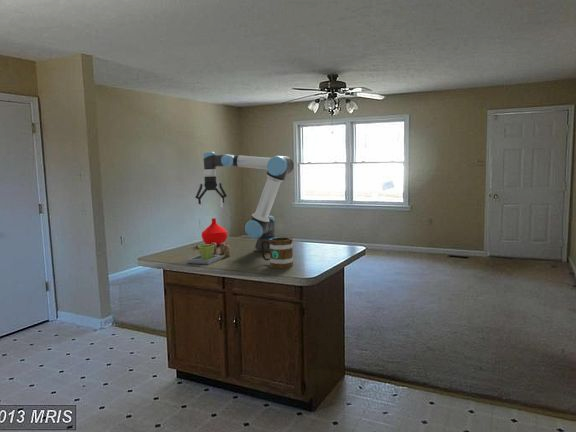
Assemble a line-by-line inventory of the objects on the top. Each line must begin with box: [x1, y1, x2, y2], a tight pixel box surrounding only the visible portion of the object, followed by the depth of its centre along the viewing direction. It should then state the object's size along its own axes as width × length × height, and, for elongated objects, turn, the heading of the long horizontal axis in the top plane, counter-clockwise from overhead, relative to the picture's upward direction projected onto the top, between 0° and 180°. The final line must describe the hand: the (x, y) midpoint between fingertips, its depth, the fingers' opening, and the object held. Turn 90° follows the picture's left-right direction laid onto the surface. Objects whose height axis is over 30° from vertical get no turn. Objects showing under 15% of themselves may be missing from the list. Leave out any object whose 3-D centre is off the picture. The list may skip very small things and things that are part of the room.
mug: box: [261, 236, 294, 269], centre depth 253 cm, size 20×14×15 cm
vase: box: [201, 218, 228, 247], centre depth 324 cm, size 18×18×19 cm
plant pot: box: [197, 244, 214, 260], centre depth 269 cm, size 9×9×9 cm
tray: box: [187, 254, 222, 265], centre depth 269 cm, size 14×14×2 cm
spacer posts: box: [204, 242, 231, 258], centre depth 284 cm, size 17×17×7 cm
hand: (211, 208), depth 296 cm, fingers open, 13 cm apart
